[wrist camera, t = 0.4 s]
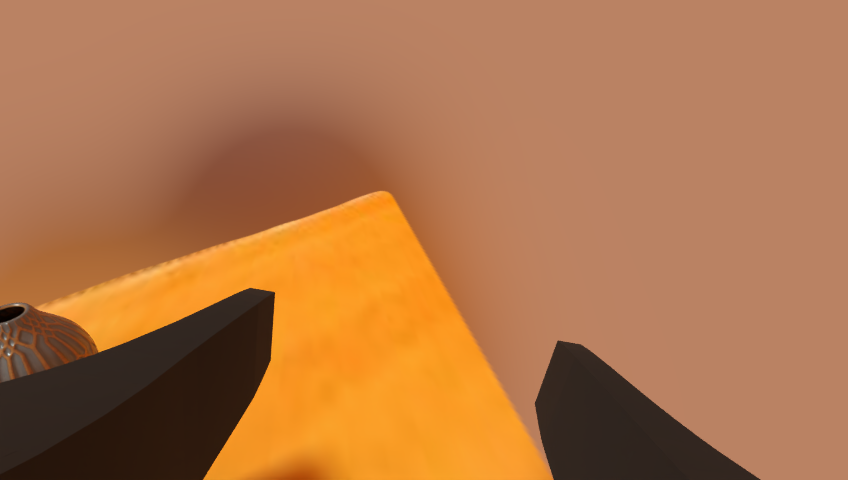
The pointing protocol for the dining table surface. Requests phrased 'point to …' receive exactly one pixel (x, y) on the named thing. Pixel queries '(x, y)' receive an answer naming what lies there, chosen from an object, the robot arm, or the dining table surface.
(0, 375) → the vase
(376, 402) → the dining table surface
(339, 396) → the dining table surface
